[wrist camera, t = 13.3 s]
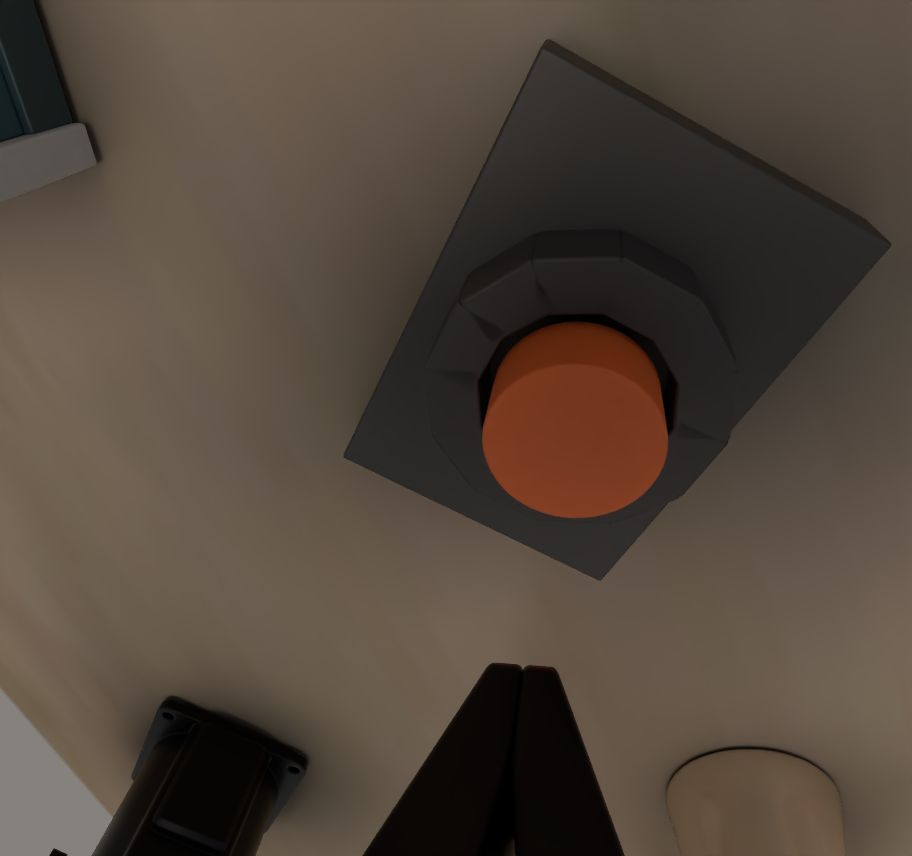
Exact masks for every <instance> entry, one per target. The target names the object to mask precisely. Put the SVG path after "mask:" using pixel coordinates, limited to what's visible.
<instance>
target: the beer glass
mask: <svg viewBox="0 0 912 856" xmlns="http://www.w3.org/2000/svg"><path fill="white" fill-rule="evenodd" d="M666 802H667V808H668V812H669V816H670V820H671V823H672V827H673V830H674V833H675V837H676V840H677V844H678V848H679V851H680V855H681V856H847V853H846V842H845V829H844V816H843V806H842V801H841V797H840V794H839V791H838V789H837V788H836V786H835V784H834V783H833V781H832V780H831V779H830V778H829V777H828V776H827V775H826V774H825V773H824V772H823V771H821V770H820V769H819V768H817V767H815V766H814V765H812V764H810V763H809V762H807V761H804V760H802V759H800V758H797V757H795V756H792V755H788V754H785V753H781V752H776V751H770V750H762V749H733V750H725V751H720V752H715V753H712V754H708V755H705V756H702V757H700V758H698V759H695V760H693V761H692V762H690V763H688V764H687V765H685V766H684V767H682V768H681V769H680V770H679V771H678V772H677V773H676V774H675V775H674V776H673V778H672V779H671V781H670V783H669V785H668V788H667V794H666Z"/></svg>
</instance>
